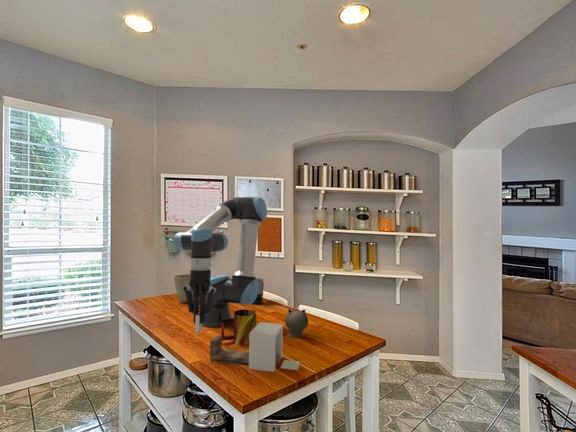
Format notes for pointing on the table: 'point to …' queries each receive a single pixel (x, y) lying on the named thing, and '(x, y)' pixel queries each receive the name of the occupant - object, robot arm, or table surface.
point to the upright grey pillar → (265, 346)
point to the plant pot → (182, 286)
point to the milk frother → (260, 294)
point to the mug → (240, 326)
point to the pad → (290, 365)
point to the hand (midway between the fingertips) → (198, 331)
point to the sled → (230, 352)
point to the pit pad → (231, 362)
